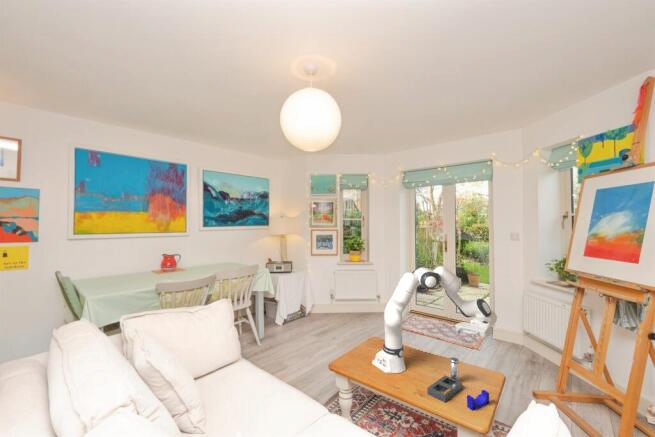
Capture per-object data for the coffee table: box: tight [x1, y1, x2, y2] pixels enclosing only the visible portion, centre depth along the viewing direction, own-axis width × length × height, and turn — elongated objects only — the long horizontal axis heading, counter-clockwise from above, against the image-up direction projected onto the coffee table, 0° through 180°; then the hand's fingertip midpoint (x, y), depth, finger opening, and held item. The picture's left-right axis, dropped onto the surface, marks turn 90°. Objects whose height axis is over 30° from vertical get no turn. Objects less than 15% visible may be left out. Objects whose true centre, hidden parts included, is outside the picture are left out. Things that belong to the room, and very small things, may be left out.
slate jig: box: [426, 375, 463, 403], centre depth 160 cm, size 10×19×4 cm, turn 130°
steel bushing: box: [448, 357, 460, 381], centre depth 169 cm, size 5×5×13 cm
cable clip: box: [466, 389, 490, 411], centre depth 147 cm, size 12×4×6 cm, turn 113°
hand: (464, 334), depth 173 cm, fingers open, 8 cm apart
